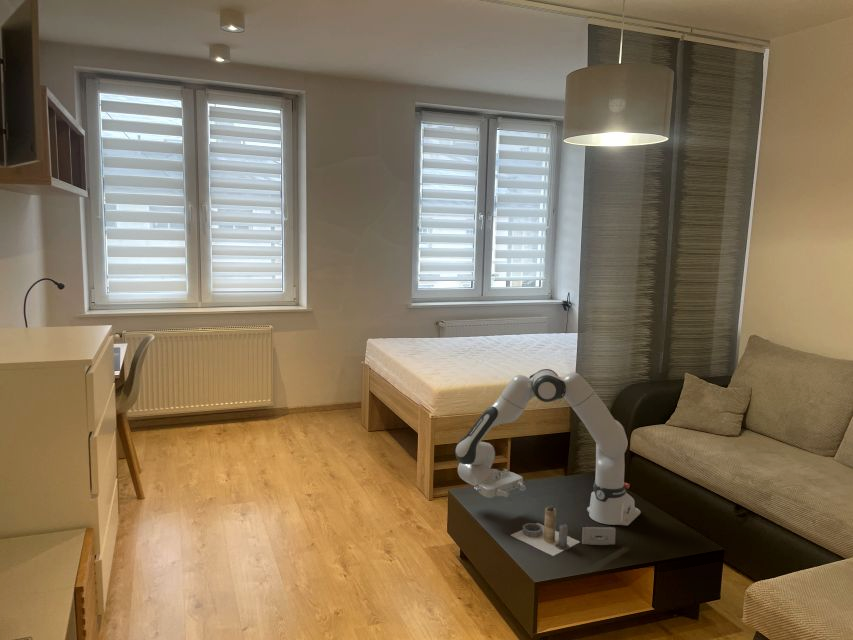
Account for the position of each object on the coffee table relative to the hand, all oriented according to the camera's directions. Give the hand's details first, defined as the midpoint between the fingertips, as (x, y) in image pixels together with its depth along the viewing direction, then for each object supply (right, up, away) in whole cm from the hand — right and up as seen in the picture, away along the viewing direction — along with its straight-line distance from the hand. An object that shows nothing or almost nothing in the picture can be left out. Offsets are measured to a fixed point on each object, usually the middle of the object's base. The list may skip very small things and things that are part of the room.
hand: (516, 491), depth 249 cm
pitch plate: (+9, -16, -9) cm, 21 cm away
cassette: (+28, -17, -12) cm, 35 cm away
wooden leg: (+11, -15, -10) cm, 21 cm away
